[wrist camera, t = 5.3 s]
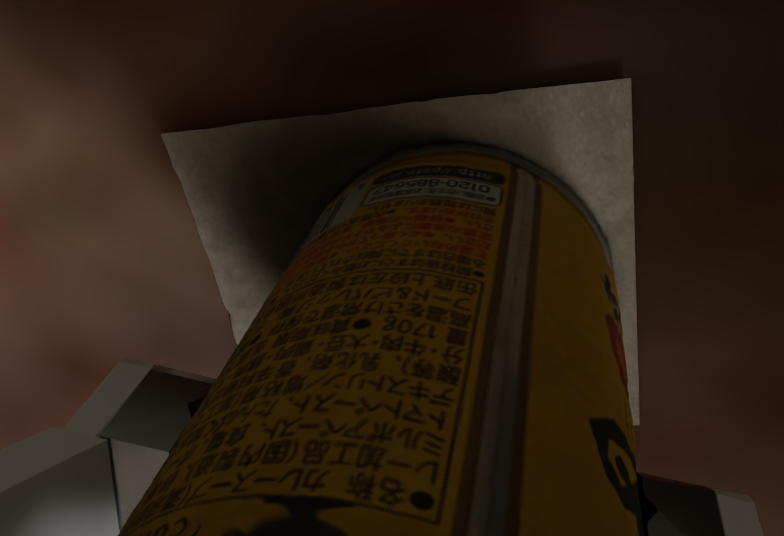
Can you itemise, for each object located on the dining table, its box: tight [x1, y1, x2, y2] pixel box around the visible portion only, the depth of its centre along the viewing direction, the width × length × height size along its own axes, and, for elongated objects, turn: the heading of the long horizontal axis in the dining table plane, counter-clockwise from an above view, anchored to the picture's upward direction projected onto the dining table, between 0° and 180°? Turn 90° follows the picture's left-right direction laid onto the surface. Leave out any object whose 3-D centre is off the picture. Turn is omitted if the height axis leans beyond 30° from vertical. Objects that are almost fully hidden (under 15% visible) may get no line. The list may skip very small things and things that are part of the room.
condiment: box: [118, 78, 644, 536], centre depth 10 cm, size 7×8×12 cm
